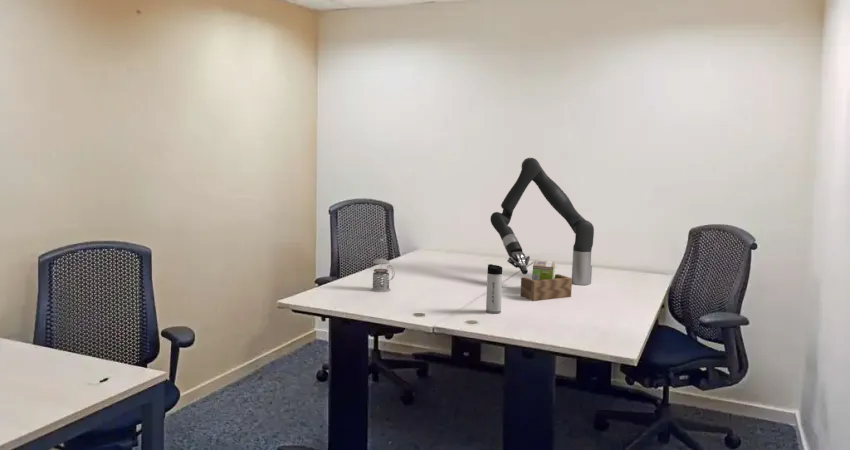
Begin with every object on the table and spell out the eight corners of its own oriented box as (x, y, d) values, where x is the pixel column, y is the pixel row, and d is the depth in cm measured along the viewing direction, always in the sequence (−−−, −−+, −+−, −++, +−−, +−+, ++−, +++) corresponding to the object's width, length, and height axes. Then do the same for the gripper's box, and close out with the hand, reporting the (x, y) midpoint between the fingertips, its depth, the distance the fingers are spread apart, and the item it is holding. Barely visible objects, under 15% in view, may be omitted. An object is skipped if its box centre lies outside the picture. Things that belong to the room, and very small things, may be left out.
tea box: (552, 297, 300) (553, 266, 298) (530, 295, 302) (532, 265, 300) (553, 290, 314) (555, 261, 312) (533, 289, 316) (534, 259, 315)
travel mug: (492, 309, 275) (494, 263, 272) (503, 312, 270) (505, 265, 267) (482, 311, 271) (484, 264, 269) (493, 314, 266) (495, 267, 263)
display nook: (557, 292, 310) (558, 274, 309) (571, 296, 301) (572, 278, 300) (520, 296, 300) (521, 277, 299) (533, 301, 291) (534, 281, 290)
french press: (375, 287, 313) (376, 236, 310) (397, 289, 309) (398, 238, 306) (367, 291, 304) (367, 239, 300) (389, 293, 300) (390, 240, 297)
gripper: (504, 241, 317) (518, 270, 308) (526, 240, 324) (540, 268, 314) (498, 250, 323) (511, 278, 313) (519, 248, 329) (532, 276, 320)
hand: (525, 273), depth 314 cm, fingers closed
